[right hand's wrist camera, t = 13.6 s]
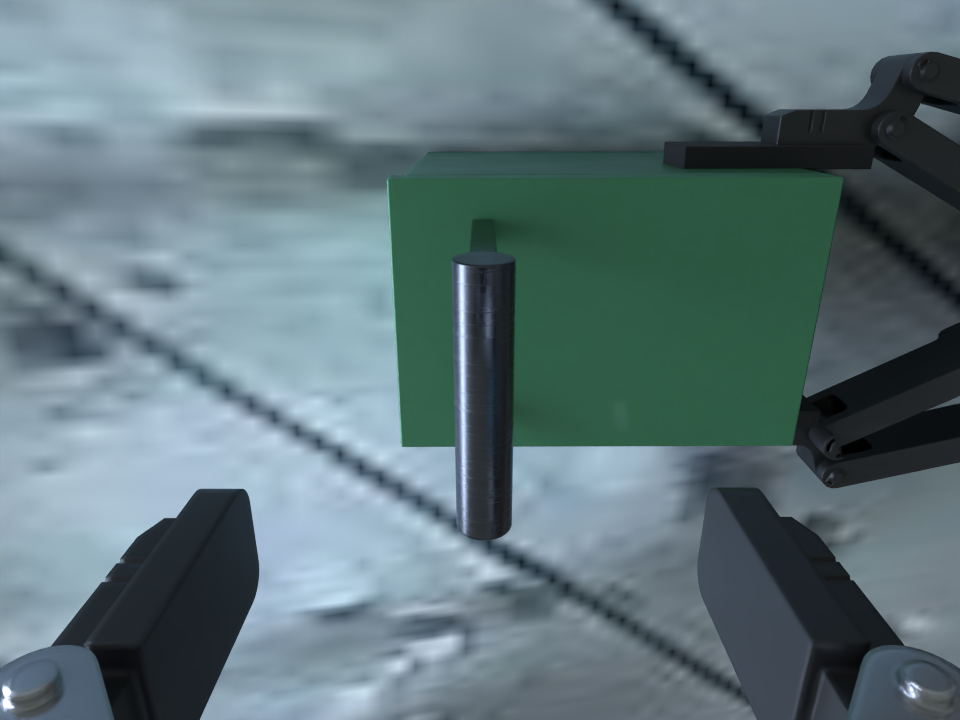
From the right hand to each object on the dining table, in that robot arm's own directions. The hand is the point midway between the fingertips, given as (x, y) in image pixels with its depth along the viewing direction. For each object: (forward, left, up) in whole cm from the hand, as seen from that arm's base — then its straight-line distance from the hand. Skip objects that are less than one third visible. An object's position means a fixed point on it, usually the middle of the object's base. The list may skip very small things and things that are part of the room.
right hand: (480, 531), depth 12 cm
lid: (0, +4, -12) cm, 13 cm away
